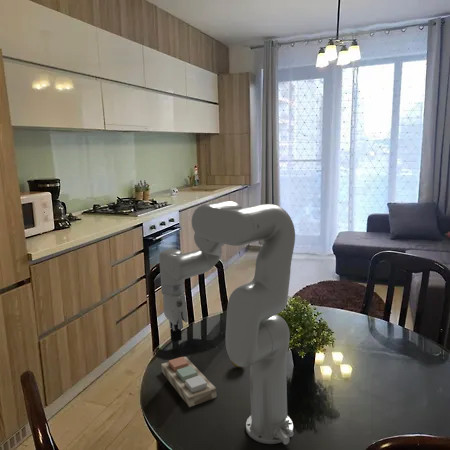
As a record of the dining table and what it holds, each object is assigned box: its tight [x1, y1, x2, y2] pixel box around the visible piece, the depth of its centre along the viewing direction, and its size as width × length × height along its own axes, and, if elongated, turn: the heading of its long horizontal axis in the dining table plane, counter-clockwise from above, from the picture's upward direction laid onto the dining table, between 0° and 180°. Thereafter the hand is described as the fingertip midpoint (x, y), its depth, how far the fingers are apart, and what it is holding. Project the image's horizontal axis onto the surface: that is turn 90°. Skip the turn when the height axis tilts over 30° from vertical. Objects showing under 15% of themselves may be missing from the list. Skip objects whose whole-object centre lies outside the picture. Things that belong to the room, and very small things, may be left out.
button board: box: [160, 356, 217, 408], centre depth 132 cm, size 23×9×3 cm, turn 29°
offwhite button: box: [185, 375, 207, 393], centre depth 126 cm, size 5×5×3 cm
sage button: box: [177, 366, 197, 382], centre depth 132 cm, size 5×5×3 cm
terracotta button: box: [168, 356, 189, 372], centre depth 138 cm, size 5×5×3 cm
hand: (176, 340), depth 137 cm, fingers closed
